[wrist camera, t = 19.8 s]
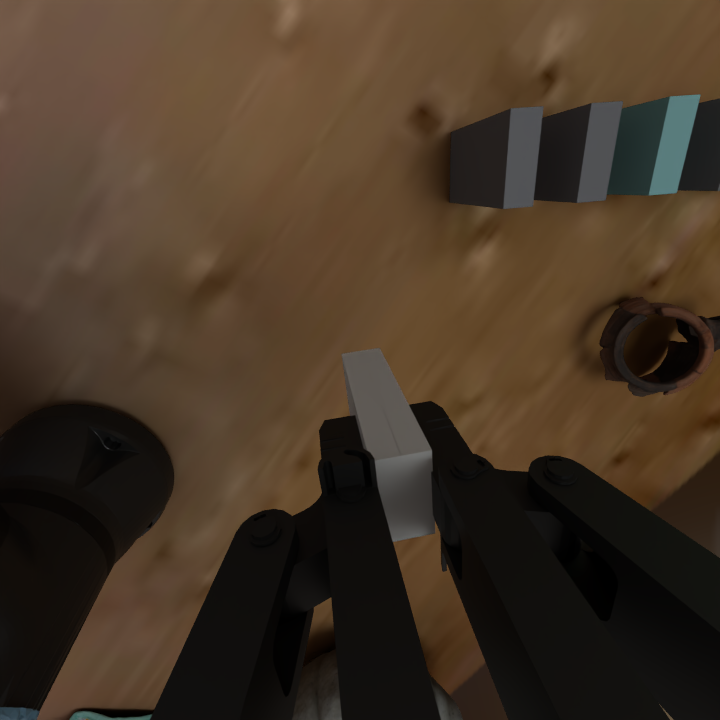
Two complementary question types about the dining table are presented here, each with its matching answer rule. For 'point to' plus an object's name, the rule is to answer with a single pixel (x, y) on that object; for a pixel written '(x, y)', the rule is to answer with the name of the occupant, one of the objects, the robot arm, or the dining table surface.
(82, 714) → the lunch bag
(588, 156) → the domino
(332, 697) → the gourd
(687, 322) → the pottery mug
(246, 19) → the dining table surface
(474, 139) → the domino
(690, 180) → the domino
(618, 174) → the teal domino
